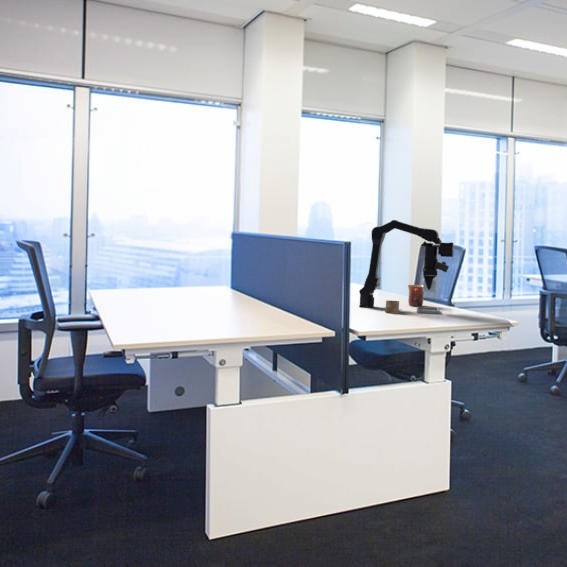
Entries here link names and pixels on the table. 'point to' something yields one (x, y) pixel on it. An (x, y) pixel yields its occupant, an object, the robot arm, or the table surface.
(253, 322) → the table surface
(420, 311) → the tray
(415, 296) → the mug
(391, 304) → the open wooden cubby box
